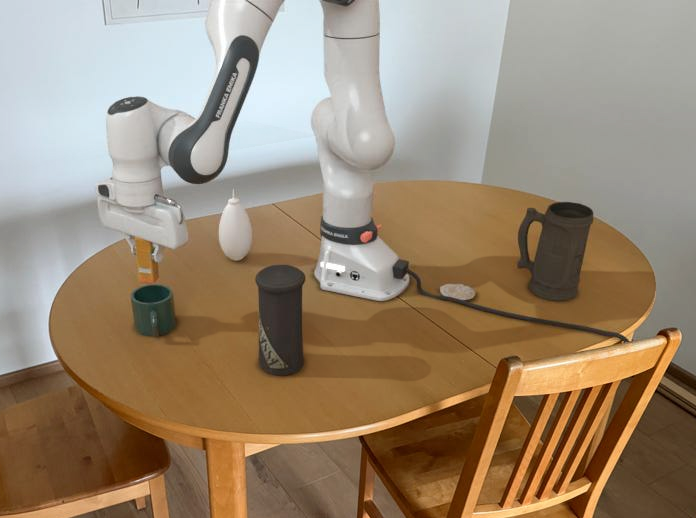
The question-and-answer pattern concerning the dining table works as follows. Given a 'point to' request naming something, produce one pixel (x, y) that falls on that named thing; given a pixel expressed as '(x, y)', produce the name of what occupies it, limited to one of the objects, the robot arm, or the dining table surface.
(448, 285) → the flatbread
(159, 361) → the dining table surface
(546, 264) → the beer stein
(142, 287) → the teal faceted mug
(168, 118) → the robot arm
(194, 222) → the dining table surface
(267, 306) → the container
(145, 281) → the supplement box
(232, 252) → the white air blower bulb
